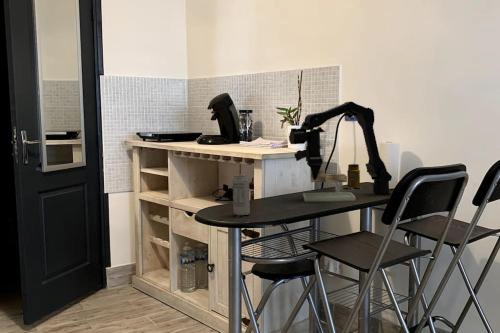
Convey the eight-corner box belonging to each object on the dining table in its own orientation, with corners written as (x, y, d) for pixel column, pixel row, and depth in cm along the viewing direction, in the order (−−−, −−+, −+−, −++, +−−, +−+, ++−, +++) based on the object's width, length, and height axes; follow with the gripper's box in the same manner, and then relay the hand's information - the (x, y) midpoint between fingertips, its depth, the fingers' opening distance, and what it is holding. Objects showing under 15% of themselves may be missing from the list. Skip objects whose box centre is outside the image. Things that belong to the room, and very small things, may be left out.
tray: (350, 196, 224) (350, 192, 224) (355, 201, 210) (355, 196, 210) (303, 197, 225) (303, 193, 225) (304, 202, 211) (304, 197, 211)
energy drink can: (253, 214, 185) (252, 174, 184) (242, 217, 181) (240, 176, 180) (241, 213, 189) (240, 173, 188) (230, 215, 185) (228, 175, 184)
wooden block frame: (344, 179, 221) (344, 168, 221) (347, 182, 212) (346, 170, 212) (310, 180, 222) (310, 169, 222) (311, 182, 213) (311, 171, 213)
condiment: (363, 187, 251) (363, 164, 250) (353, 189, 245) (353, 165, 244) (351, 187, 256) (350, 163, 255) (341, 188, 250) (341, 164, 249)
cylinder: (341, 193, 233) (341, 180, 232) (342, 194, 230) (342, 181, 229) (335, 193, 233) (335, 181, 232) (335, 194, 230) (335, 181, 229)
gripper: (294, 143, 226) (295, 177, 227) (295, 144, 207) (296, 182, 209) (319, 142, 225) (319, 176, 226) (322, 144, 207) (323, 181, 208)
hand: (314, 179), depth 217 cm, fingers closed on wooden block frame, 4 cm apart
